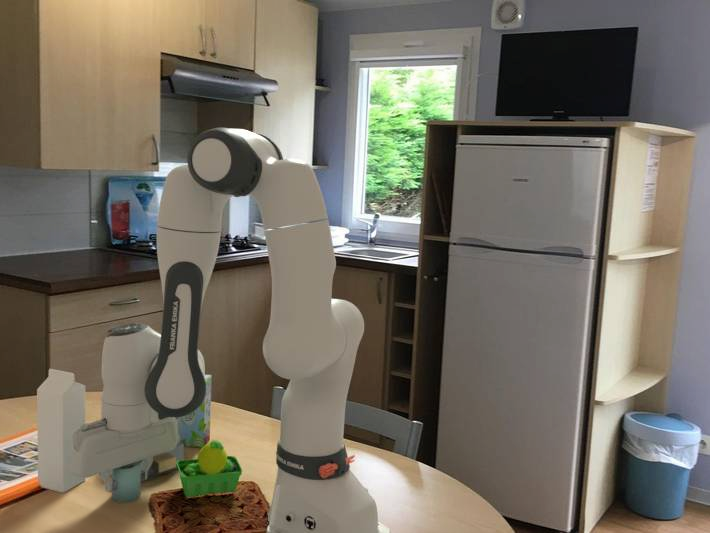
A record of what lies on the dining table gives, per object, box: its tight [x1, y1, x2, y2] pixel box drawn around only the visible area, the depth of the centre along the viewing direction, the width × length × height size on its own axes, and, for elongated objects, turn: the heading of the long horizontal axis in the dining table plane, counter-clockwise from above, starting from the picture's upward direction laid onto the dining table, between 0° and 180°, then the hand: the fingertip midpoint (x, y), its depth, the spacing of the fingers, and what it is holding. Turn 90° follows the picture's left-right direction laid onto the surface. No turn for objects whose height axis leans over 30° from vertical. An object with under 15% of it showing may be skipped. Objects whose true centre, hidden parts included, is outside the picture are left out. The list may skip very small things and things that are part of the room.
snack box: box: [175, 374, 213, 449], centre depth 162 cm, size 21×6×15 cm, turn 84°
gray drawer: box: [139, 436, 185, 483], centre depth 148 cm, size 12×10×6 cm
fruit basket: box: [176, 439, 243, 498], centre depth 139 cm, size 11×9×11 cm
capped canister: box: [111, 461, 142, 503], centre depth 136 cm, size 5×5×7 cm
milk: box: [36, 368, 86, 494], centre depth 138 cm, size 6×6×22 cm
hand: (126, 484), depth 136 cm, fingers closed on capped canister, 5 cm apart
